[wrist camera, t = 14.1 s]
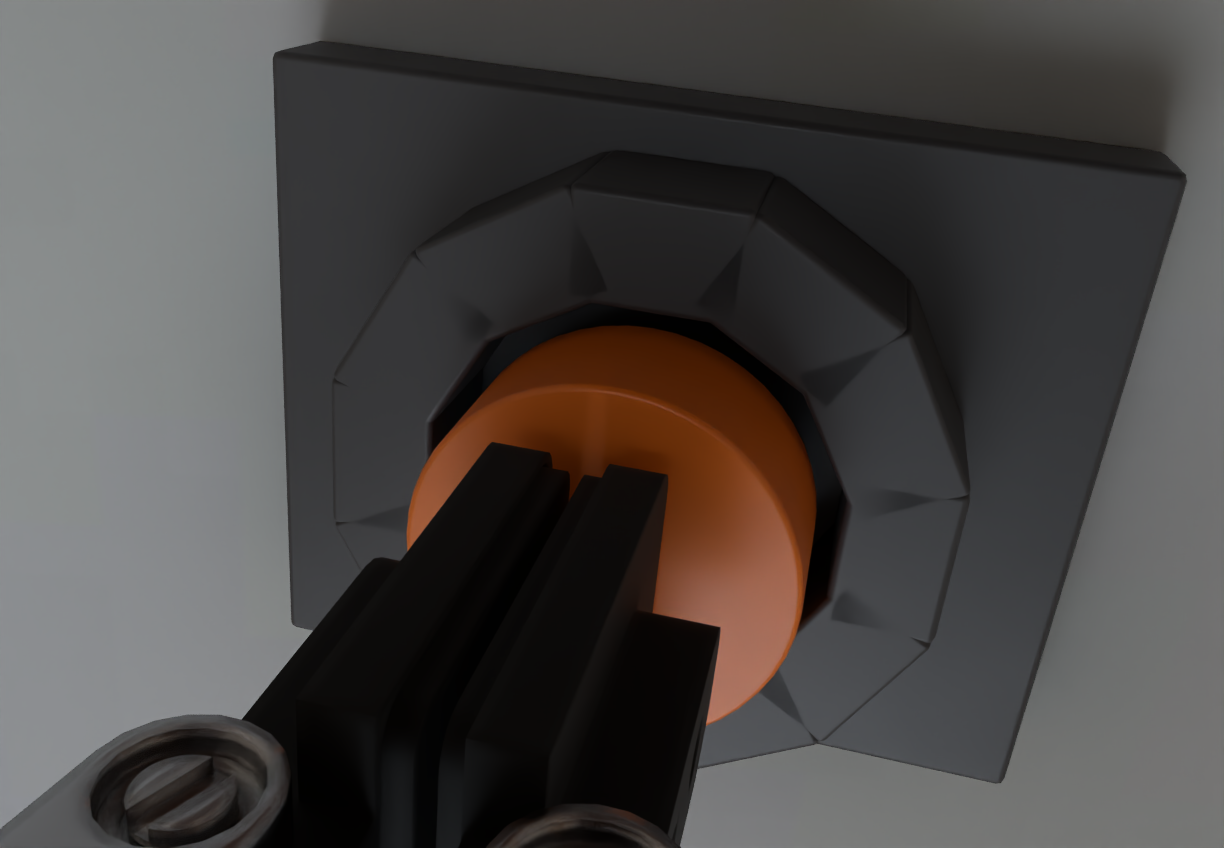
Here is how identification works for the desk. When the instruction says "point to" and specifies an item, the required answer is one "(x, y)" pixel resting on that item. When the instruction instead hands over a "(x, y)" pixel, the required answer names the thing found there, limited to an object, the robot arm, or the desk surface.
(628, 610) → the robot arm
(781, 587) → the button
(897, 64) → the desk surface
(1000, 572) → the control block
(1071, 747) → the desk surface
